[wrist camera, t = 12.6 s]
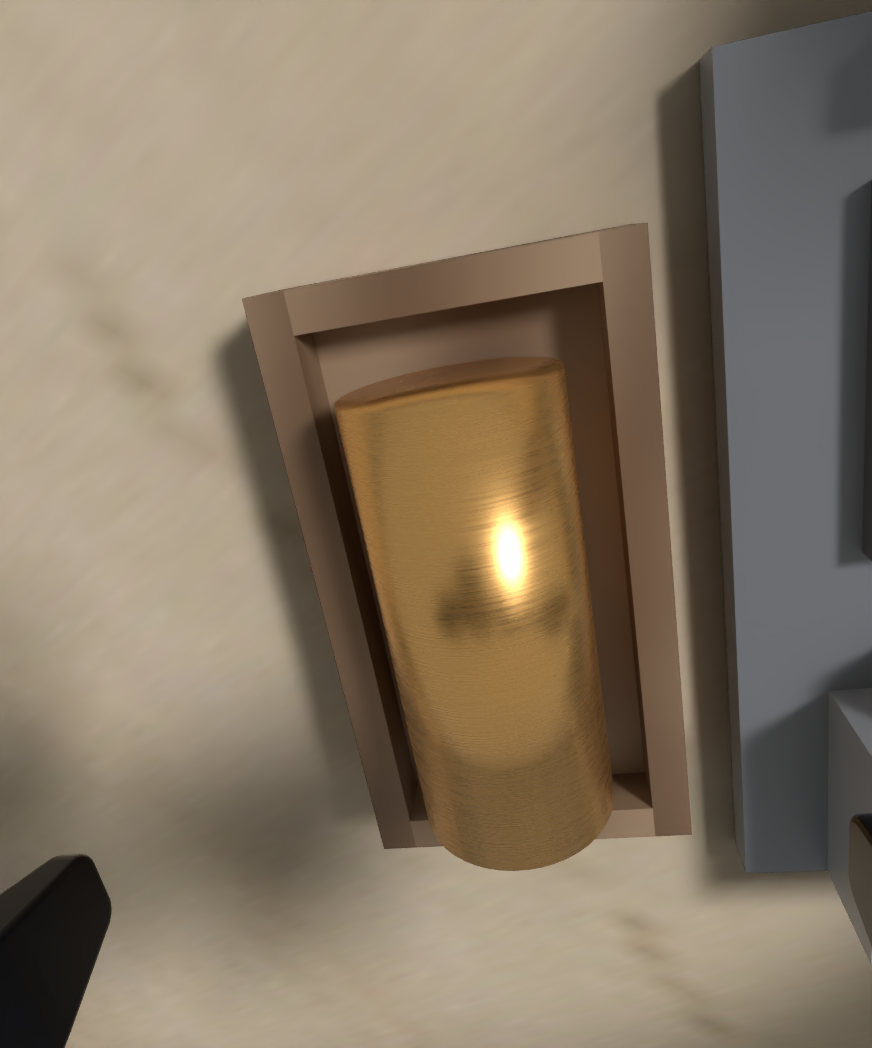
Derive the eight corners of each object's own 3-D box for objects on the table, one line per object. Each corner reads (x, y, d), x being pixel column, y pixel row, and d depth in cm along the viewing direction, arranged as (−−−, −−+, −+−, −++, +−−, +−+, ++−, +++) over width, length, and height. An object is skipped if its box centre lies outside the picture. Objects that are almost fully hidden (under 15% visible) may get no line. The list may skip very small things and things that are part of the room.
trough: (630, 224, 14) (647, 222, 12) (674, 768, 19) (691, 834, 17) (279, 290, 15) (241, 299, 13) (399, 785, 20) (384, 848, 18)
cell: (562, 347, 14) (565, 388, 10) (609, 753, 17) (624, 893, 14) (364, 378, 15) (303, 426, 11) (445, 761, 18) (417, 895, 15)
